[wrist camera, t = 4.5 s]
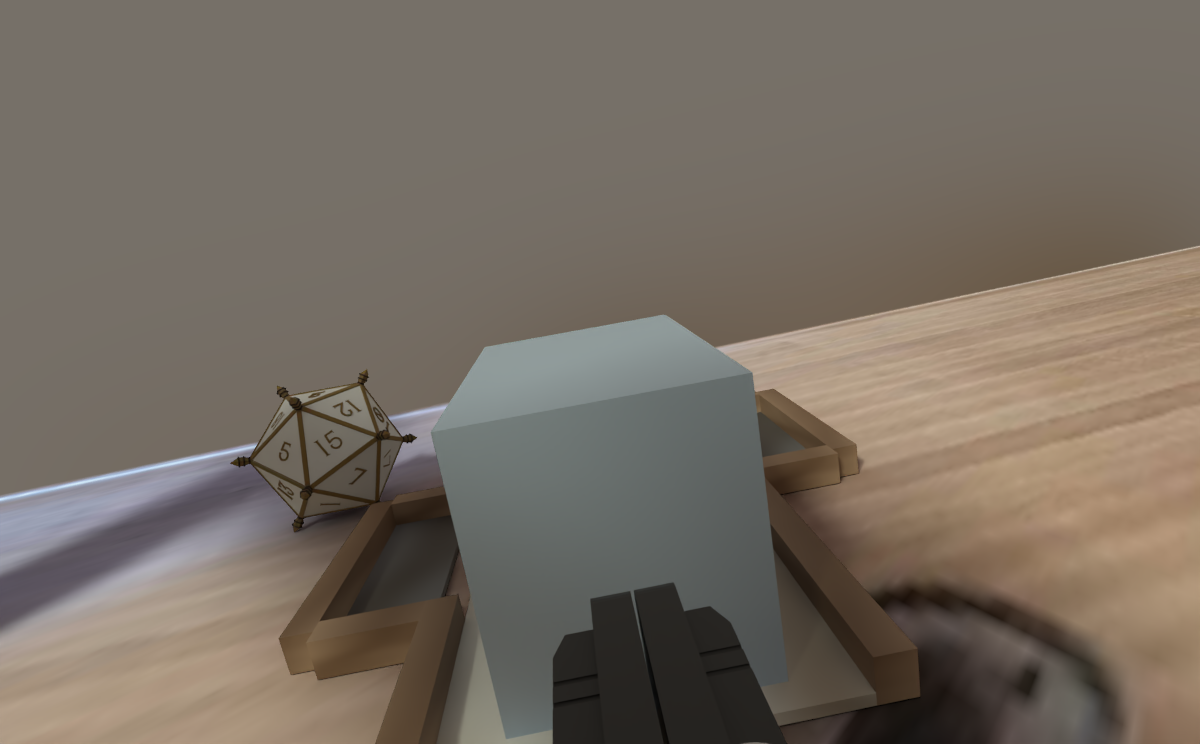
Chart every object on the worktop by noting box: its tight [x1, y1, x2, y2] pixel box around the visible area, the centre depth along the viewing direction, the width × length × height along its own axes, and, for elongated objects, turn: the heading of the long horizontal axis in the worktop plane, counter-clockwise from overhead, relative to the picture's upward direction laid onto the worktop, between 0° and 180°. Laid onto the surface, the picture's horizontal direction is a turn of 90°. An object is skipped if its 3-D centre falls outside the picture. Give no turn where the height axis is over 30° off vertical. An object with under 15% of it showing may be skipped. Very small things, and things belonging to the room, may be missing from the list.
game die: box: [230, 370, 417, 532], centre depth 35 cm, size 9×8×10 cm
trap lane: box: [279, 389, 920, 744], centre depth 30 cm, size 25×30×2 cm
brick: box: [431, 315, 788, 739], centre depth 22 cm, size 8×12×9 cm, turn 4°
